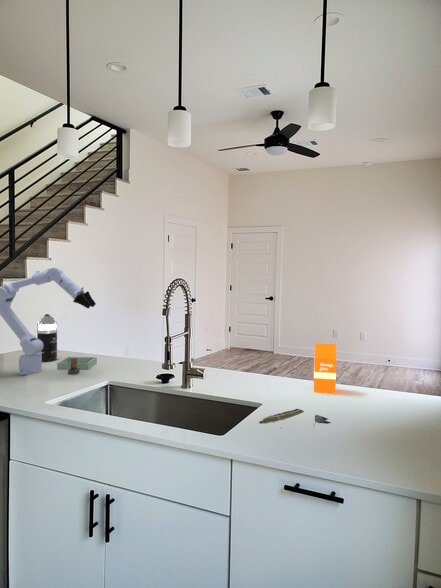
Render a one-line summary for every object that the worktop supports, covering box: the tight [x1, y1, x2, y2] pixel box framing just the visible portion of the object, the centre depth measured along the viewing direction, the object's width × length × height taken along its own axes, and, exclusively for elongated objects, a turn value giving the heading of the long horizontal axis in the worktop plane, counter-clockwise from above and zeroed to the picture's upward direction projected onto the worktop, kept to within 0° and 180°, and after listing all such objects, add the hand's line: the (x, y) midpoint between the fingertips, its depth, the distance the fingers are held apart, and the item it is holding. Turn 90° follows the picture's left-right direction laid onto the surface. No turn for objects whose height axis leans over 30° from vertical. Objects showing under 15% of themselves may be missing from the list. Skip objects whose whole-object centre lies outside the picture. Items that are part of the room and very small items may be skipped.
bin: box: [56, 356, 98, 371], centre depth 213 cm, size 15×15×4 cm
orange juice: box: [313, 342, 337, 395], centre depth 179 cm, size 8×9×20 cm
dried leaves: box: [258, 408, 332, 429], centre depth 141 cm, size 25×19×2 cm
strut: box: [67, 358, 81, 375], centre depth 198 cm, size 4×4×7 cm
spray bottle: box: [36, 313, 58, 362], centre depth 230 cm, size 10×10×25 cm
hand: (92, 306), depth 200 cm, fingers open, 7 cm apart
